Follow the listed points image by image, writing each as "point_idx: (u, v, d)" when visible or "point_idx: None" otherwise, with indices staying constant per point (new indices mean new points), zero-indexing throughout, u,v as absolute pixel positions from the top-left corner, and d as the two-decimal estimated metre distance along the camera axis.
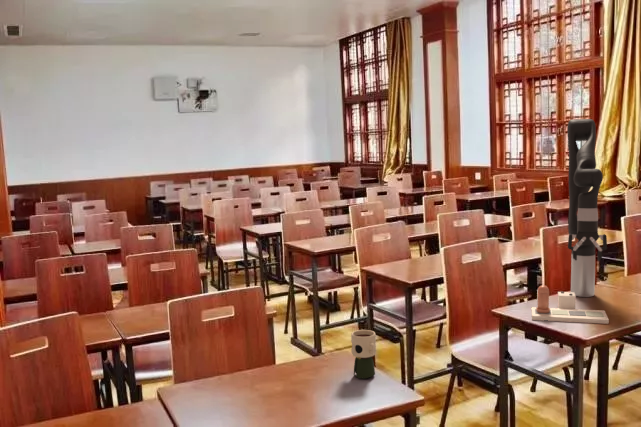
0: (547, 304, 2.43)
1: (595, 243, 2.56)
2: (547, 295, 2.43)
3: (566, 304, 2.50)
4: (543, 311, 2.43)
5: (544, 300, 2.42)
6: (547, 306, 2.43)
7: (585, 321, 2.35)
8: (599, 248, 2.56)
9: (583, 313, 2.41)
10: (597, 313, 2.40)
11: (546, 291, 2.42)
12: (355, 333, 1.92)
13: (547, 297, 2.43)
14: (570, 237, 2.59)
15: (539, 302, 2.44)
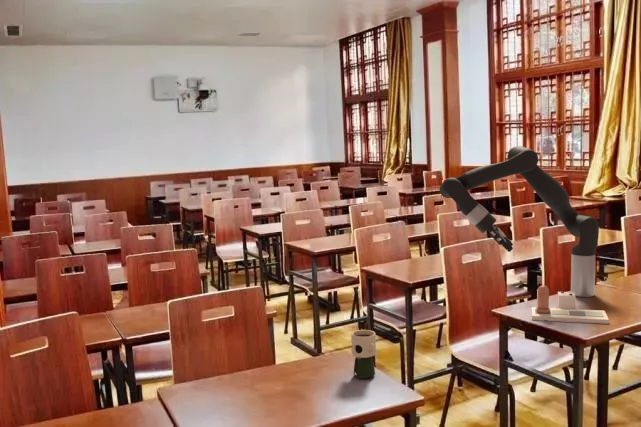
0: (547, 304, 2.43)
1: None
2: (547, 295, 2.43)
3: (566, 304, 2.50)
4: (543, 311, 2.43)
5: (544, 300, 2.42)
6: (547, 306, 2.43)
7: (585, 321, 2.35)
8: None
9: (583, 313, 2.41)
10: (597, 313, 2.40)
11: (546, 291, 2.42)
12: (355, 333, 1.92)
13: (547, 297, 2.43)
14: None
15: (539, 302, 2.44)
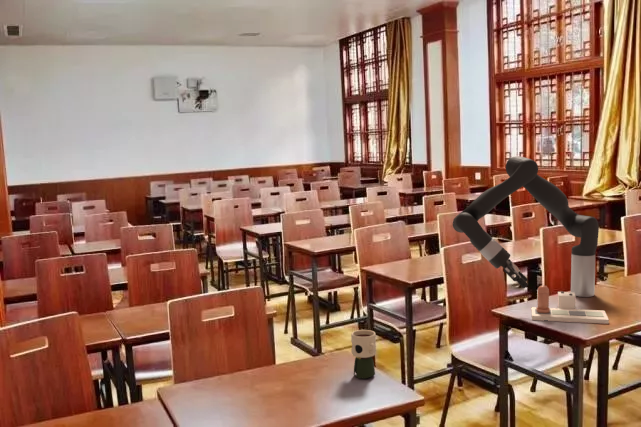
0: (547, 304, 2.43)
1: None
2: (547, 295, 2.43)
3: (566, 304, 2.50)
4: (543, 311, 2.43)
5: (544, 300, 2.42)
6: (547, 306, 2.43)
7: (585, 321, 2.35)
8: None
9: (583, 313, 2.41)
10: (597, 313, 2.40)
11: (546, 291, 2.42)
12: (355, 333, 1.92)
13: (547, 297, 2.43)
14: None
15: (539, 302, 2.44)
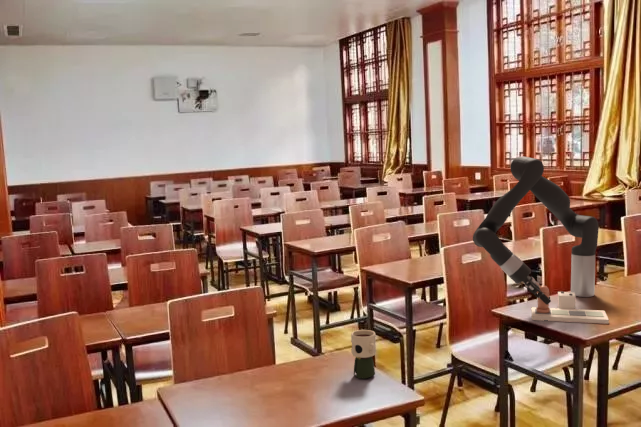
0: None
1: None
2: (547, 295, 2.43)
3: (566, 304, 2.50)
4: (543, 311, 2.43)
5: None
6: (547, 306, 2.43)
7: (585, 321, 2.35)
8: None
9: (583, 313, 2.41)
10: (597, 313, 2.40)
11: (546, 291, 2.42)
12: (355, 333, 1.92)
13: None
14: None
15: (539, 302, 2.44)
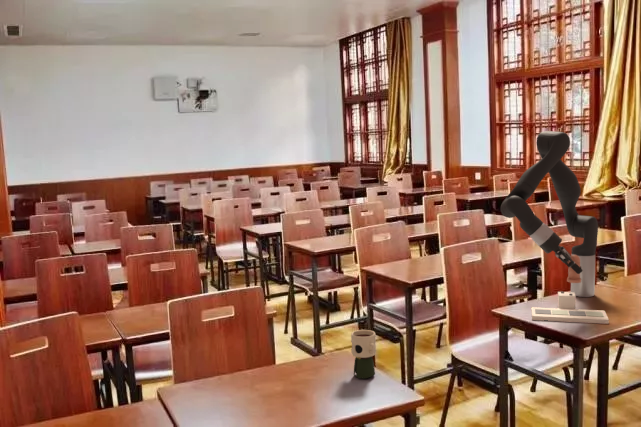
0: (578, 274, 2.39)
1: None
2: (578, 264, 2.38)
3: (566, 304, 2.50)
4: (574, 281, 2.38)
5: None
6: (578, 276, 2.39)
7: (585, 321, 2.35)
8: None
9: (583, 313, 2.41)
10: (597, 313, 2.40)
11: (577, 260, 2.38)
12: (355, 333, 1.92)
13: None
14: None
15: (570, 272, 2.39)
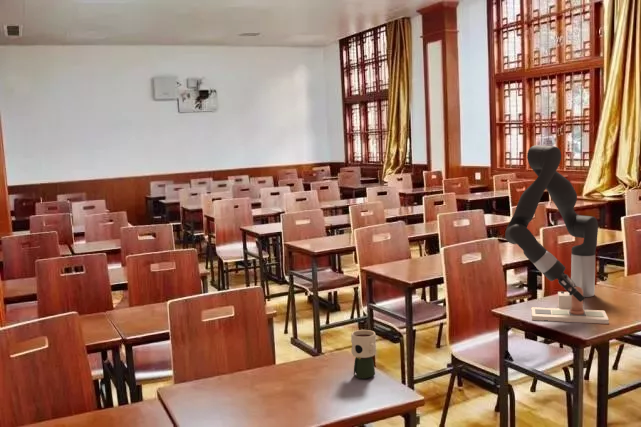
0: (581, 305, 2.40)
1: (564, 288, 2.39)
2: None
3: (566, 304, 2.50)
4: (577, 313, 2.39)
5: (578, 302, 2.39)
6: (581, 308, 2.40)
7: (585, 321, 2.35)
8: None
9: None
10: (597, 313, 2.40)
11: (580, 292, 2.39)
12: (355, 333, 1.92)
13: None
14: None
15: (573, 304, 2.40)
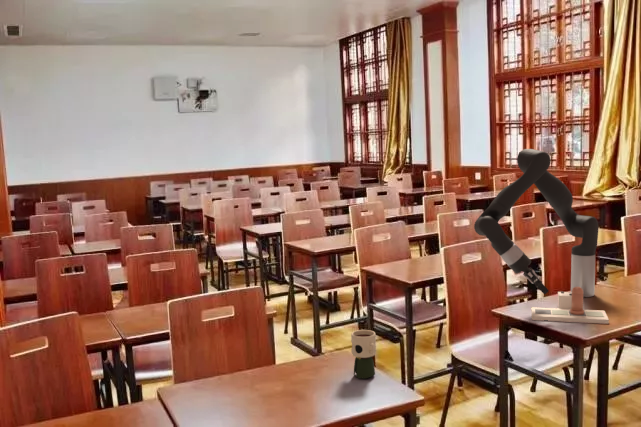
0: (581, 306, 2.40)
1: (529, 280, 2.43)
2: (581, 296, 2.39)
3: (566, 304, 2.50)
4: (577, 313, 2.39)
5: (578, 302, 2.39)
6: (581, 308, 2.40)
7: (585, 321, 2.35)
8: None
9: None
10: (597, 313, 2.40)
11: (581, 292, 2.39)
12: (355, 333, 1.92)
13: (581, 298, 2.39)
14: None
15: (573, 303, 2.40)
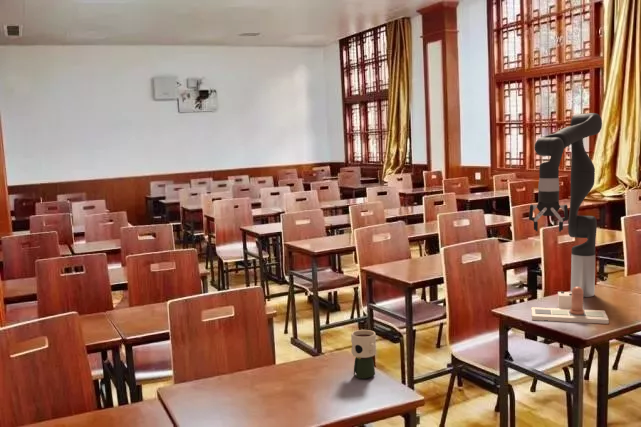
0: (581, 306, 2.40)
1: (556, 214, 2.50)
2: (581, 296, 2.39)
3: (566, 304, 2.50)
4: (577, 313, 2.39)
5: (578, 302, 2.39)
6: (581, 308, 2.40)
7: (585, 321, 2.35)
8: (560, 219, 2.50)
9: None
10: (597, 313, 2.40)
11: (580, 292, 2.39)
12: (355, 333, 1.92)
13: (581, 298, 2.39)
14: (531, 208, 2.53)
15: (573, 303, 2.40)
